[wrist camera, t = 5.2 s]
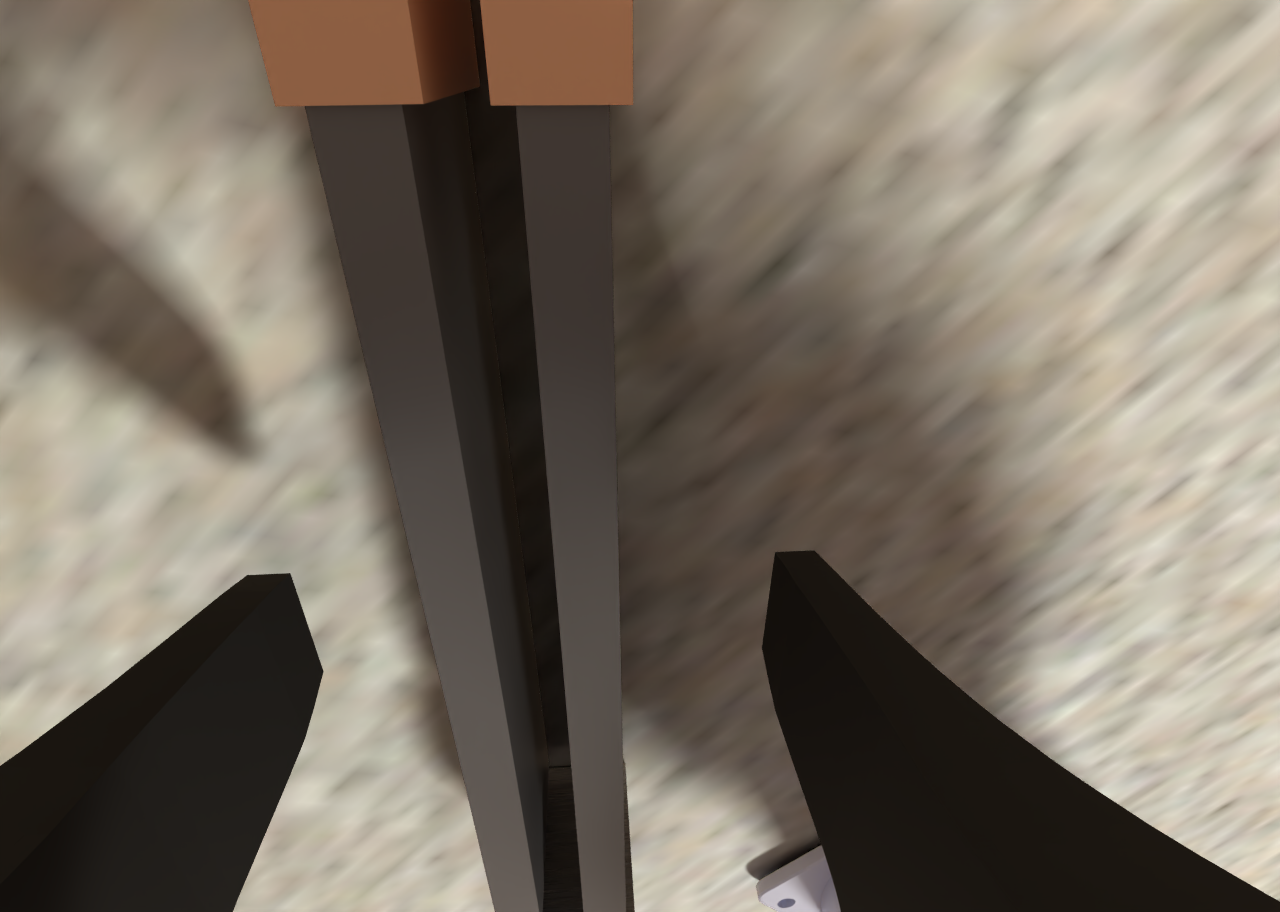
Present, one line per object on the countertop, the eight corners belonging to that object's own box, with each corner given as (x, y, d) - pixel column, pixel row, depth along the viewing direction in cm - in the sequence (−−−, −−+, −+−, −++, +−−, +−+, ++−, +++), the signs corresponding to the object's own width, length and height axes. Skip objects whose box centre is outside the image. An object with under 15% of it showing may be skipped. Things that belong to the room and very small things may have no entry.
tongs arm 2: (557, 759, 16) (552, 933, 13) (507, 762, 16) (488, 939, 13) (443, -232, 7) (336, -453, 4) (328, -233, 7) (130, -463, 4)
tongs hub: (626, 849, 18) (636, 1019, 15) (523, 857, 18) (510, 1030, 15) (625, 763, 17) (636, 936, 13) (510, 770, 16) (492, 948, 13)
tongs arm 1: (625, 755, 16) (636, 926, 13) (575, 758, 16) (573, 931, 13) (608, -226, 7) (630, -437, 4) (497, -228, 7) (434, -448, 4)
